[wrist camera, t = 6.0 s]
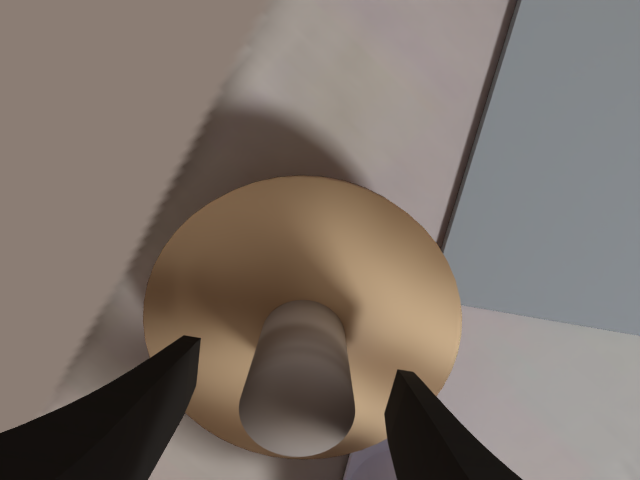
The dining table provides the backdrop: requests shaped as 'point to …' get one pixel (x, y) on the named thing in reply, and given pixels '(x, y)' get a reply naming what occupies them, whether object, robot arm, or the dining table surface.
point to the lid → (303, 313)
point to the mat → (557, 171)
